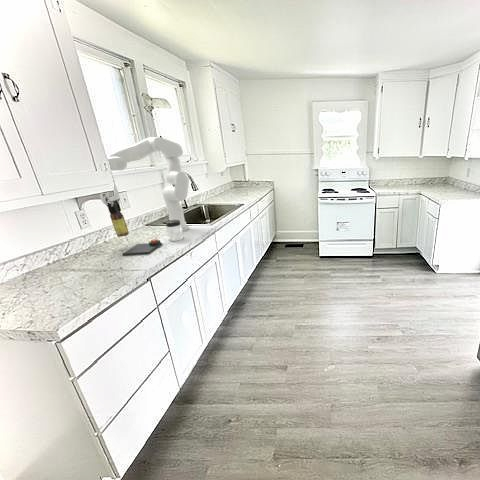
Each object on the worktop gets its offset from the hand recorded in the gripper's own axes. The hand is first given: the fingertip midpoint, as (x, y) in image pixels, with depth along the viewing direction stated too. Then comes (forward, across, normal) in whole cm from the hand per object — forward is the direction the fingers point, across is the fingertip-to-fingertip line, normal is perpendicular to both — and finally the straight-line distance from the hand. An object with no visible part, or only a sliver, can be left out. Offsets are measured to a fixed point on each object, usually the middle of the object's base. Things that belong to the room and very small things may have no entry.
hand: (115, 211), depth 154 cm
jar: (+22, -8, +26) cm, 36 cm away
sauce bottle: (+15, 0, 0) cm, 15 cm away
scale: (+22, +10, +14) cm, 28 cm away
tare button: (+19, +4, +19) cm, 27 cm away
